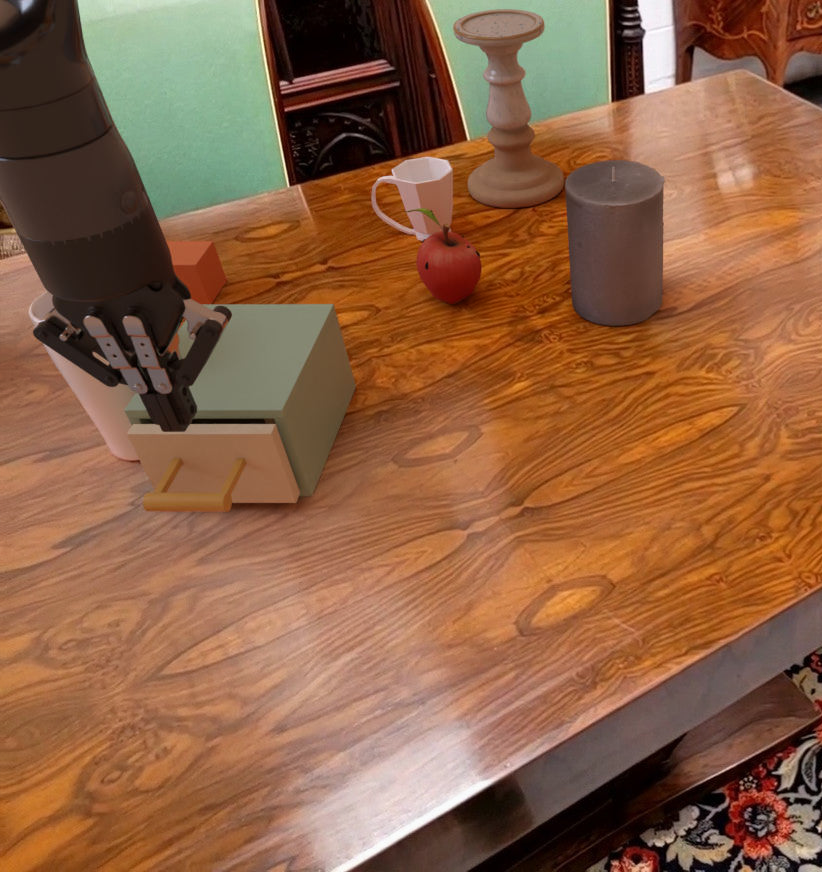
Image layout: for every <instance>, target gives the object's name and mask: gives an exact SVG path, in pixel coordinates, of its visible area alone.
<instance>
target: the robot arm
mask: <svg viewBox="0 0 822 872" xmlns="http://www.w3.org/2000/svg"><path fill="white" fill-rule="evenodd" d="M85 43H86V42H85V39H84V33H83V27H82V20H81V13H80V6H79V0H0V203H1V205H2V207H3V209H4V211H5V213H6V214H7V217H8V220H9V221H10V223H11V225H12V227H13V229H14V231H15V233H16V235H17V237H18V240H19V241H20V243H21V245H22V246H23V249H24V250H25V252H26V254H27V256H28V259H29V260H30V262H31V264H32V266H33V268H34V270H35V272H36V274H37V276H38V278H39V280H40V282H41V284H42V286H43V287H44V288H45V290H46V291H48V292H49V293H51V294H52V295H53V296H52V303H53V306H54V308H53V309H52V310H51V311H50V312H49V313H48V314H46V315H45V317H44V318H43V319H42V320H41V321H40V322H39V324H38V325H37V326H36V328H35V327H34V329H32V335H33V336H34V338H35V339H37V340H38V341H39V342H41V344H43V343H44V344H45V345H47V346H48V347H50V348H51V349H53V350H54V351H55V352H57V353H58V354H60V355H61V356H63V357H64V358H66V359H67V360H69V361H70V362H72V363H73V364H75V365H76V366H78V367H79V368H81V369H82V370H84V371H85V372H87V373H88V374H90V375H91V376H93V377H94V378H96V379H97V380H99V381H100V382H101V383H103V384H104V385H106V386H109V387H116V386H117V385H118V384H123V385H127V386H129V387H130V389H131V390H132V391H133V392H135V393H137V394H139V396H140V398H141V400H142V402H143V404H144V406H145V408H146V410H147V412H148V415H149V417H150V419H151V420H152V421H153V422H154V423H155V424H156V425H159V426H160V428H161V430H162V431H163V432H185V431H186V429H187V428H188V426H189V425H190V423H191V421H192V420H193V418H194V416H195V415H196V413H197V405H196V403H195V401H194V398H193V397H192V393H191V391H190V389H189V386H192V385H193V384H194V382H195V381H196V379H197V377H198V376H199V374H200V372H201V371H202V369H203V368H204V366H205V364H206V363H207V361H208V359H209V357H210V355H211V354H212V352H213V350H214V348H215V346H216V345H217V343H218V341H219V339H220V337H221V336H222V334H223V332H224V330H225V328H226V326H227V325H228V323H229V321H230V319H231V317H232V313H231V311H230V310H229V309H228V308H227V307H225V306H216V307H215V308H214V309H213V310H211V309H209V308H207V307H205V306H203V305H202V304H200V303H198V302H196V301H194V300H192V299H191V293H190V291H189V289H188V287H187V286H186V285H185V284H184V283H183V282H182V281H181V280H180V279H179V278H178V277H177V275H176V274H175V272H174V269H173V263H172V257H171V253H170V250H169V247H168V244H167V240H166V237H165V235H164V233H163V229H162V227H161V225H160V222H159V219H158V217H157V215H156V212H155V209H154V207H153V204H152V201H151V199H150V196H149V194H148V191H147V188H146V187H145V183H144V182H143V178H142V176H141V174H140V171H139V169H138V167H137V164H136V161H135V159H134V156H133V155H132V152H131V150H130V149H129V146H128V144H127V143H126V142H125V140H124V138H123V137H122V135H121V133H120V131H119V129H118V127H117V125H116V123H115V120H114V119H113V116H112V114H111V111H110V108H109V106H108V103H107V101H106V99H105V96H104V93H103V91H102V89H101V86H100V83H99V80H98V78H97V76H96V73H95V70H94V68H93V66H92V64H91V60H90V58H89V55H88V52H87V48H86V44H85ZM183 320H186V321H187V323H188V327H187V330H188V332H189V338H190V339H192V340H195V341H194V342H193V344H192V346H191V348H190V350H189V352H188V354H187V356H186V358H183V359H182V357H181V354H180V351H179V341H180V340H179V335H178V331H179V329H180V328H181V326H182V322H183ZM93 352H95V353H97V354H98V355H100V356H101V357H103V358H104V359H105V360H107V361H108V362H109V365H106V364H105V363H103V362H102V361H100V360H99V359H97V358H96V357H95V356H94V355H93Z"/></svg>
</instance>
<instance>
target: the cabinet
mask: <svg viewBox="0 0 822 872" xmlns="http://www.w3.org/2000/svg"><path fill="white" fill-rule="evenodd" d="M202 305H203V306H205V307H207V308H209V309H211V310H213V309H214V308H215V307H216V306H225V307H227V308H228V309H229V310H230V311H231V313H232V317H231V319H230V321H229V323H228V325H227V326H226V328H225V330H224V332H223V334H222V336H221V337H220V339H219V341H218V343H217V345H216V346H215V348H214V350H213V352H212V354H211V355H210V357H209V359H208V361H207V363H206V364H205V366H204V368H203V369H202V371H201V372H200V374H199V376H198V377H197V379H196V381H195V382H194V384H193V385H192V386H189V389H190V391H191V393H192V397H193V398H194V401H195V403H196V405H197V413H196V415H195V416H194V418H193V419H274V420H275V423H276V426H277V428H278V431H279V434H280V437H281V440H282V442H283V445H284V448H285V451H286V454H287V457H288V459H289V462H290V465H291V468H292V471H293V473H294V476H295V480H296V483H297V485H298V488H299V491H300V494H299V497H313V495H314V493H315V491H316V488H317V485H318V483H319V481H320V478H321V476H322V473H323V470H324V469H325V466H326V463H327V461H328V458H329V455H330V453H331V450H332V448H333V446H334V443H335V441H336V438H337V435H338V433H339V430H340V428H341V426H342V423H343V420H344V418H345V416H346V413H347V411H348V409H349V406H350V403H351V401H352V398H353V397H354V393H355V391H356V388H357V385H356V381H355V378H354V374H353V369H352V366H351V362H350V358H349V355H348V352H347V348H346V344H345V340H344V337H343V333H342V330H341V326H340V322H339V319H338V315H337V311H336V308H335V305H334V303H275V304H274V303H257V304H255V303H249V304H248V303H246V304H244V303H240V304H239V303H238V304H237V303H236V304H235V303H234V304H233V303H232V304H230V303H227V304H222V303H219V304H215V303H214V304H213V303H212V304H202ZM184 320H185V321H184V322H183V323H182V324H181V325H180V327H179V329H178V331H177V332H178V335H179V340H180V341H179V351H180V354H181V357H182V359H183V358H186V356H187V354H188V352H189V350H190V348H191V346H192V344H193V342H194V341H195V340H192V339H190V338H189V332H188V330H187V327H188V323H187V321H186V319H184ZM124 411H125V413H126V415H127V417H128V419H129V421H130V423H131V425H133V424H155V423H154V422H153V421H152V420H151V419H150V417H149V415H148V412H147V410H146V408H145V406H144V404H143V402H142V400H141V398H140V396H139V394H137V393H135V395H134V396H133V398H132V399H131V401H130V402H129V404H128V405H127V406H126V408H125V409H124Z"/></svg>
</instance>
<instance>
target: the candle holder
mask: <svg viewBox="0 0 822 872" xmlns="http://www.w3.org/2000/svg"><path fill="white" fill-rule="evenodd" d="M545 26H546V25H545V20H544V19H543V17H542V16H540V15H539V14H538V13H535V12H532V11H527V10H523V9H515V8H514V9H513V8H497V9H487V10H481V11H476V12H473V13H469V14H466V15H464V16H462V17H460V18H459V19H457V20H456V21H455V22H454V23H453V26H452V31H453V35H454V37H455V38H456V39H457V40H458V41H460V42H462V43H464V44H467V45H471V46H476V47H479V49H480V50H481V52H483V53H485V55H486V58H487V62H488V63H487V67H486V68H485V69H484V71H483V72H482V77H483V79H484V80H485V81H486V82H487V83H488V100H487V106H486V111H485V118H486V121H487V122H488V124H489V125H490V126H491V129H490V130H489V131H488V132H487V135H486V138H487V141H488V143H489V144H491V146H492V147H493V148H494V157H491V158H490V159H488V160H487V161H485V162H484V163H483V164H481V165H479V166H478V167H476V168H475V169H473V171H472V172H471V173H470V174H469V176H468V179H467V189H468V193H469V194H470V196H471V197H472V198H473V199H474V200H476V201H477V202H479V203H481V204H483V205H486V206H490V207H494V208H501V209H502V208H503V209H519V208H520V209H521V208H527V207H533V206H536V205H540V204H543V203H545V202H548V201H550V200H552V199H553V198H555V197H557V196H558V195H559V194H560V193H561V192H562V191H563V189H564V187H565V176H564V172H563V170H562V169H561V167H559V166H558V165H557V164H556V163H554V162H553V161H550V160H547V159H545V158H544V157H541V156H539V155H536V154H533V152H532V149H531V144H532V143H533V141H534V140H535V138H536V133H535V130H534V129H533V128H532V127H531V126H530V125H529V124H528V123H529V122H530V121H531V118H532V109H531V107H530V104H529V102H528V99H527V97H526V93H525V92H524V88H523V83H522V80H523V79H525V77H526V73H527V72H526V70H525V68H524V67H522V66H521V65H520V63H519V61H518V54H519V51H520V50H521V49H522V48H523V46H524V44H526V43H529V42H531V41H533V40H536V39H537V38H539V37H540V36H542V35H543V33H544V32H545V28H546V27H545Z"/></svg>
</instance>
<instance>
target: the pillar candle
mask: <svg viewBox="0 0 822 872" xmlns="http://www.w3.org/2000/svg"><path fill="white" fill-rule="evenodd" d="M665 182H666V179H665V177H664V176H663V175H661V174H660V173H659V171H657V170H656V169H655V168H653V167H651V166H649V165H647V164H644V163H641V162H639V161H632V160H625V159H624V160H623V159H622V160H621V159H612V160H599V161H595V162H591V163H587V164H584V165H582V166H580V167H578V168H576V169H574V170H573V171H571V172H570V173H569V175H567V177H566V179H565V180H564V190H565V206H566V222H567V225H566V226H567V236H568V238H567V239H568V240H567V241H568V259H569V276H570V289H571V291H570V292H571V303H572V307H573V309H574V311H575V312H576V314H578V315H579V316H580V317H581V318H583V319H584V320H586V321H589V322H591V323H593V324H597V325H601V326H611V327H621V326H631V325H635V324H638V323H642V322H645V321H646V320H648V319H649V318H650V317H651V316H653V314H655V313H656V312H657V311H658V310H659V309H660V308H661V306H662V305H663V300H664V299H663V295H664V225H665V223H664V197H665V196H664V195H665V193H664V189H665V186H664V185H665Z"/></svg>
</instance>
